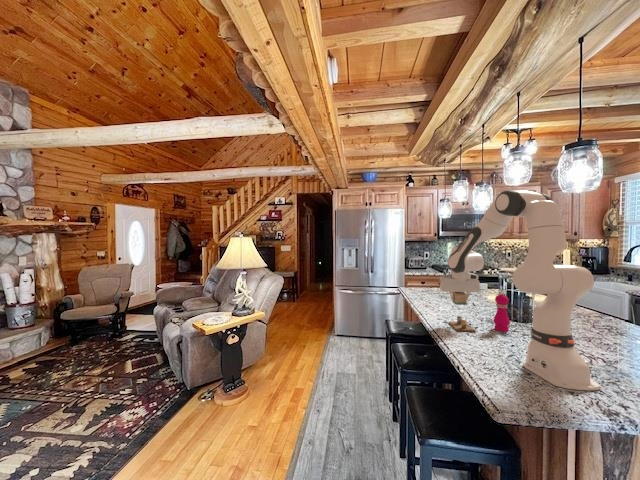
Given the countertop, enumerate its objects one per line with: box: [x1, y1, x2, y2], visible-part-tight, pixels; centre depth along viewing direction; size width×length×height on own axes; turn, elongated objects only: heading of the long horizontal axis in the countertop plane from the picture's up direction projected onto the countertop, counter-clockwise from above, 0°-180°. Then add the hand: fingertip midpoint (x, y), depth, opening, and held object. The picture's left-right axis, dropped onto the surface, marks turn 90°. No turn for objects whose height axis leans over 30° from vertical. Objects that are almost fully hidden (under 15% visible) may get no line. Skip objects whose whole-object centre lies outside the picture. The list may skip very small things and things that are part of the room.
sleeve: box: [451, 292, 468, 306], centre depth 158 cm, size 6×6×6 cm
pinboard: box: [448, 315, 477, 333], centre depth 154 cm, size 14×9×5 cm, turn 172°
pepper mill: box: [493, 291, 511, 333], centre depth 150 cm, size 7×7×20 cm
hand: (459, 299), depth 157 cm, fingers closed on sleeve, 6 cm apart
